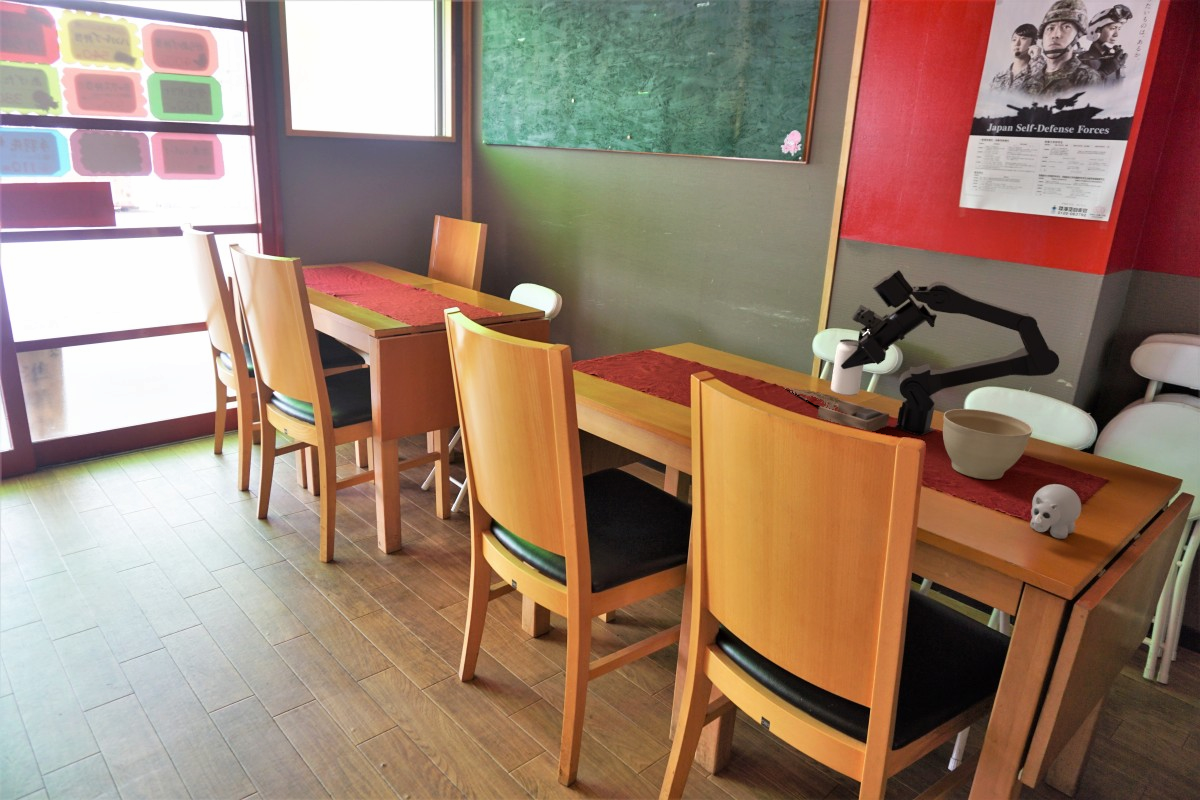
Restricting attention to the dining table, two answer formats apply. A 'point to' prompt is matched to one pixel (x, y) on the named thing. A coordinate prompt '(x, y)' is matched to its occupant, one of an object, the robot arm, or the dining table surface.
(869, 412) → the grey block
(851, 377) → the can
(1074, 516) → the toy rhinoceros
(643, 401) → the dining table surface
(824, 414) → the tray
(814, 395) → the wooden fragment
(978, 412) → the planter bowl
